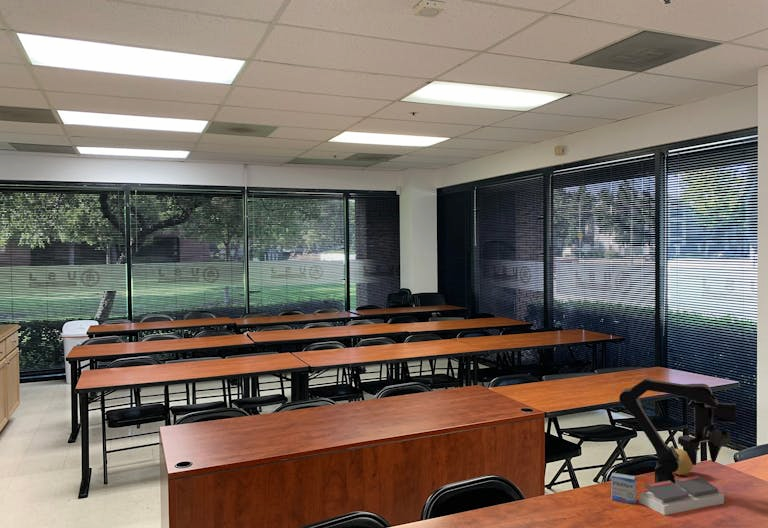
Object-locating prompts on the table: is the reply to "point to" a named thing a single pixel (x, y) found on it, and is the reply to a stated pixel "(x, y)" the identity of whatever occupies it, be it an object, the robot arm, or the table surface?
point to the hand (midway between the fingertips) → (704, 463)
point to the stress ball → (683, 463)
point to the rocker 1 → (666, 491)
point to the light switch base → (680, 502)
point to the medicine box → (623, 488)
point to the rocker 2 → (696, 485)
